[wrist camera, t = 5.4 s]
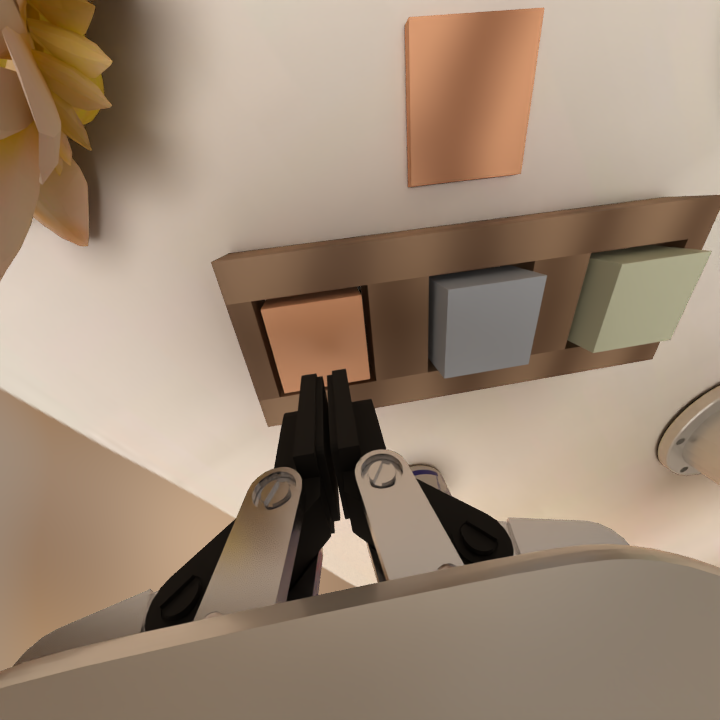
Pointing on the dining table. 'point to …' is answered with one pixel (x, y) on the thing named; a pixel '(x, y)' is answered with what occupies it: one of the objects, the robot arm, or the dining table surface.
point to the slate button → (483, 319)
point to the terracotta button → (317, 335)
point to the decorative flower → (45, 118)
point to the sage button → (634, 296)
